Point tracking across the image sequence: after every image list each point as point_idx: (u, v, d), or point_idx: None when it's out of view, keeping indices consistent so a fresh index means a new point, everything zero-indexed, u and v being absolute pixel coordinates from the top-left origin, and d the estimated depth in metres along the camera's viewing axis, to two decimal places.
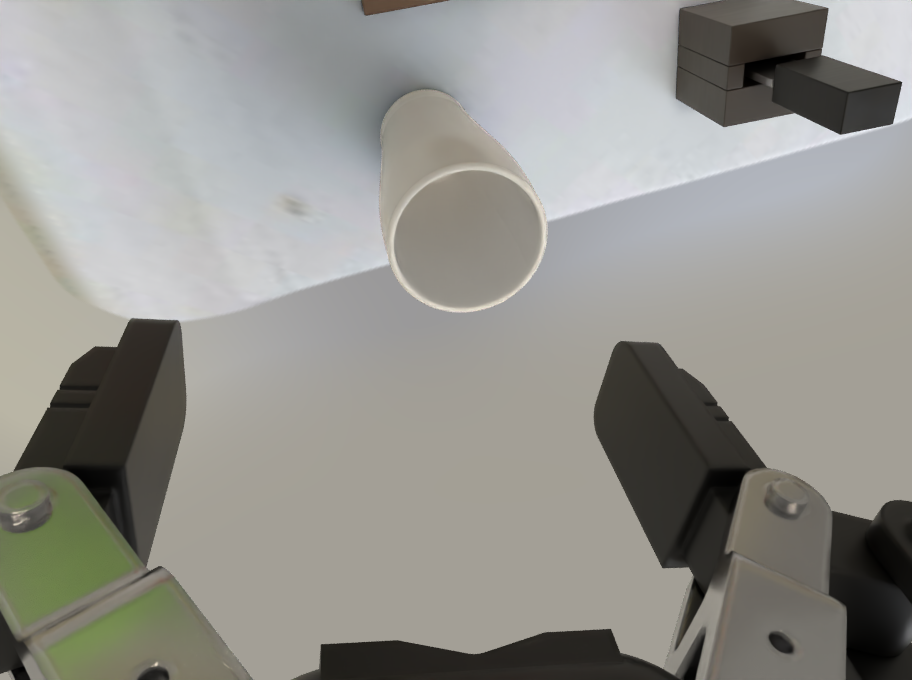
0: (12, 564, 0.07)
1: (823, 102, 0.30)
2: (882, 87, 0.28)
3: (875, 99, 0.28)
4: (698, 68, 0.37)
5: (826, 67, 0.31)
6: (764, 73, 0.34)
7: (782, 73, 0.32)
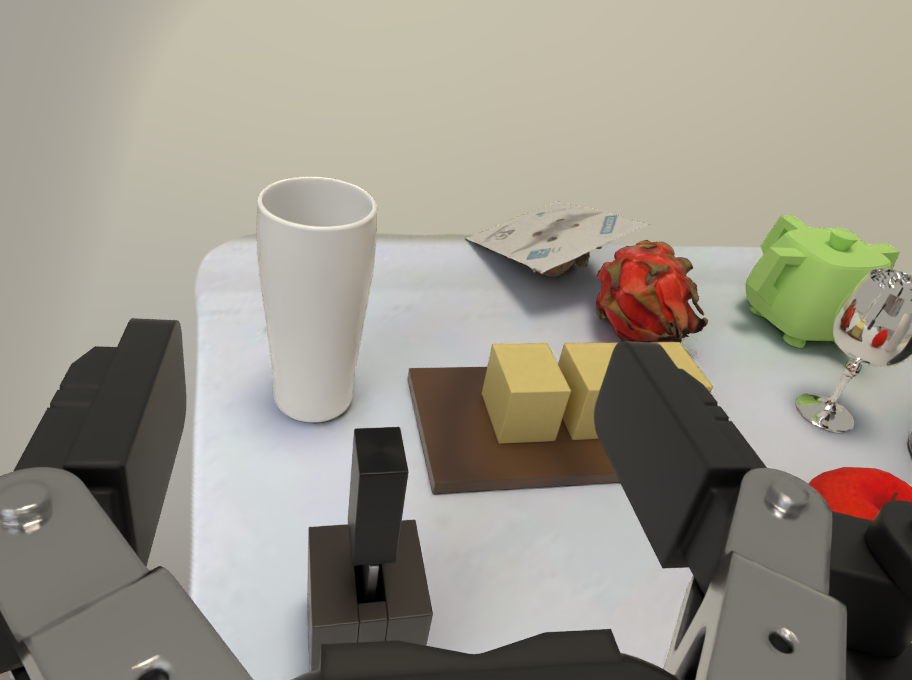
0: (11, 564, 0.07)
1: None
2: (403, 454, 0.25)
3: (390, 451, 0.25)
4: None
5: None
6: None
7: None
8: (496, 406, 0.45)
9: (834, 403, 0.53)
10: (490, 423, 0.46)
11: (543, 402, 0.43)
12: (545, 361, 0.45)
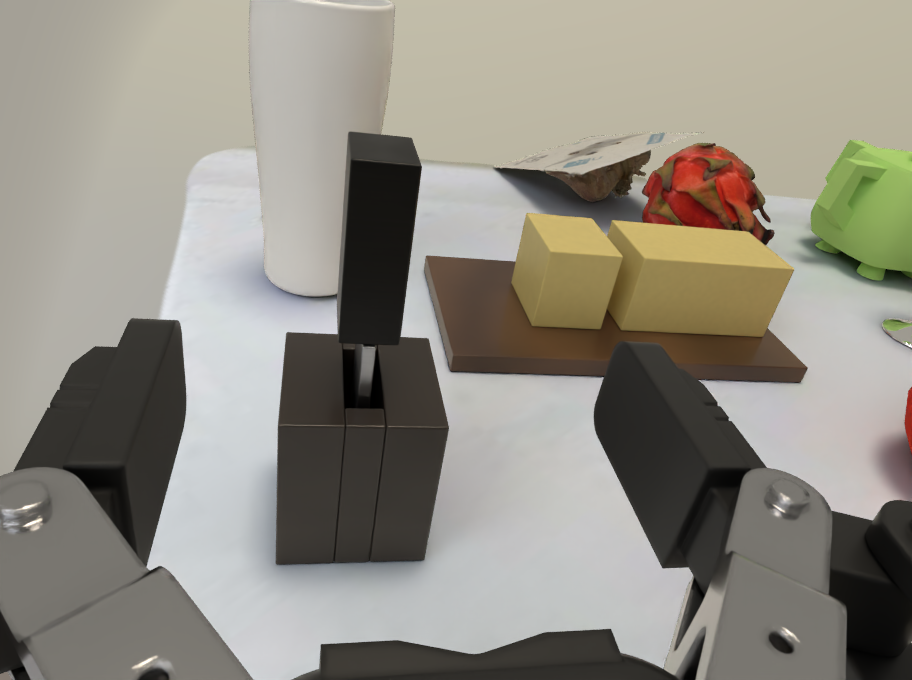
0: (12, 564, 0.07)
1: None
2: (416, 154, 0.18)
3: (397, 149, 0.18)
4: None
5: None
6: None
7: None
8: (530, 283, 0.37)
9: None
10: (521, 308, 0.38)
11: (589, 270, 0.35)
12: (590, 231, 0.37)
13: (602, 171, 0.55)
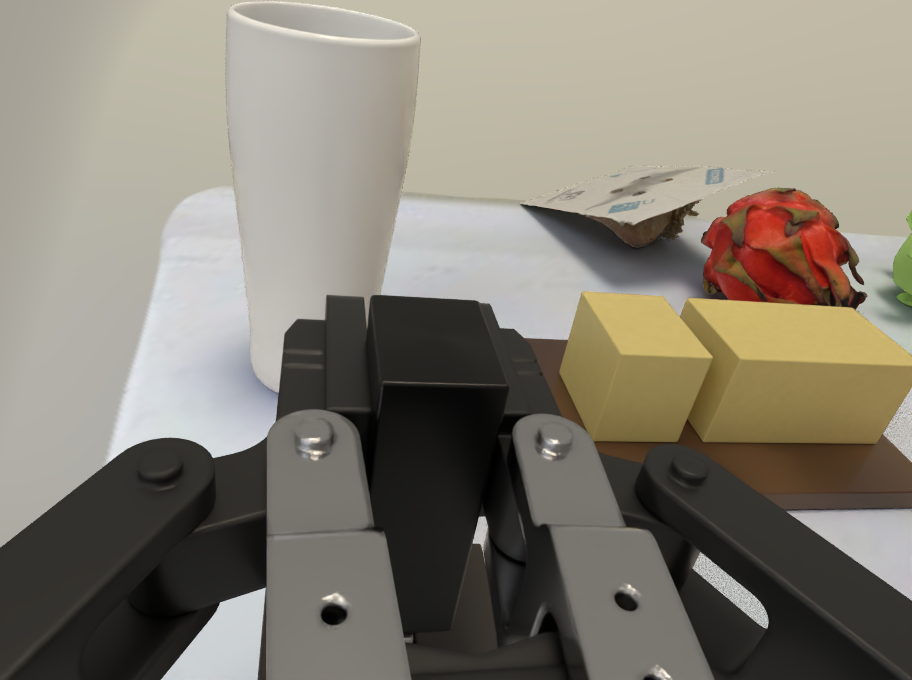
0: (288, 477, 0.08)
1: None
2: (494, 350, 0.10)
3: (461, 341, 0.10)
4: None
5: None
6: None
7: None
8: (588, 384, 0.29)
9: None
10: (576, 412, 0.30)
11: (668, 375, 0.27)
12: (665, 317, 0.29)
13: None
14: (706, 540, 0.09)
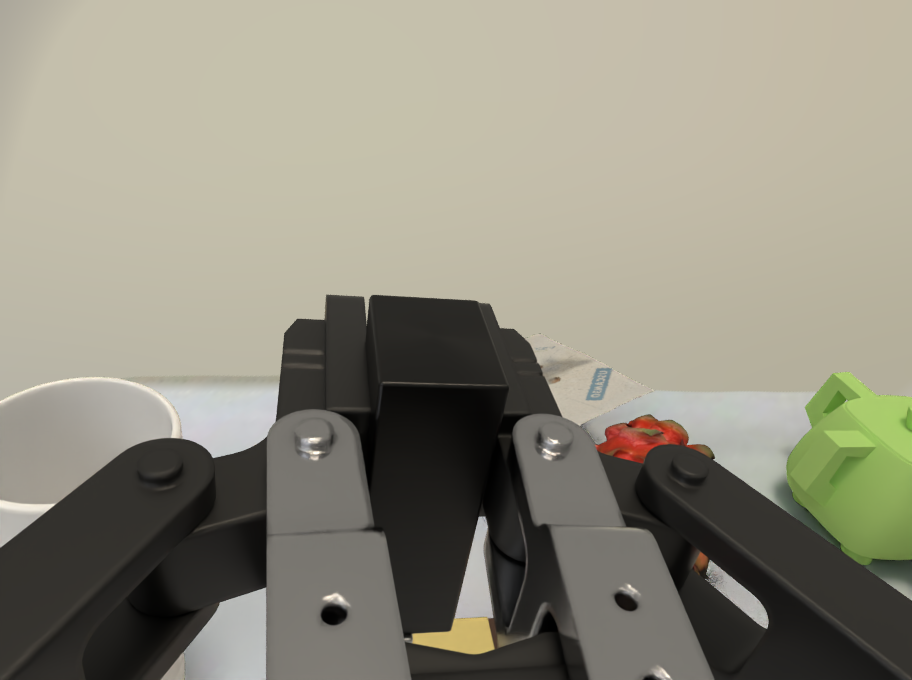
0: (288, 477, 0.08)
1: None
2: (493, 351, 0.10)
3: (460, 341, 0.10)
4: None
5: None
6: None
7: None
8: None
9: None
10: None
11: None
12: None
13: None
14: (706, 541, 0.09)
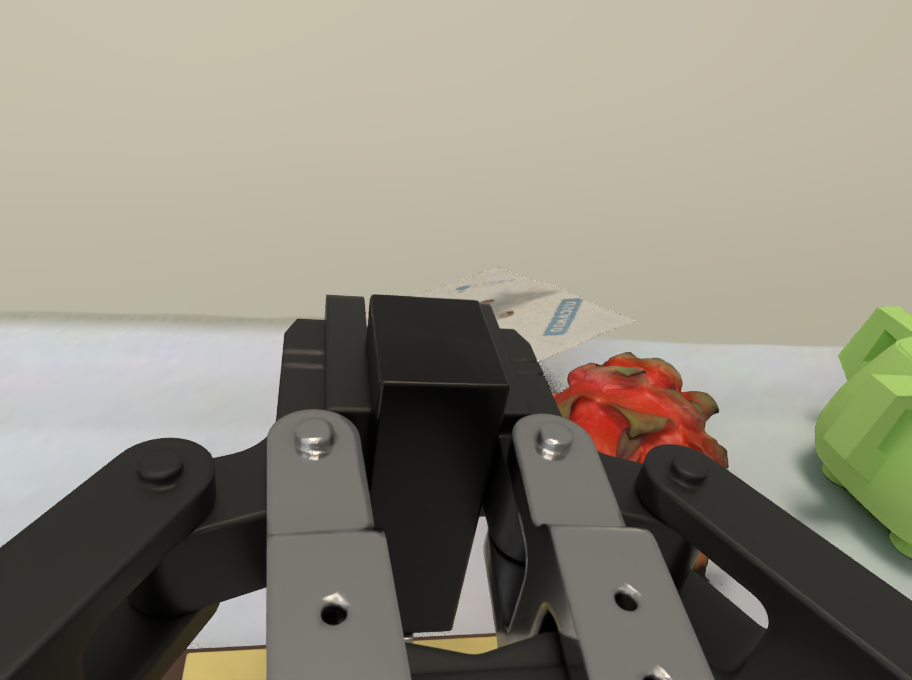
0: (288, 478, 0.08)
1: None
2: (494, 350, 0.10)
3: (461, 340, 0.10)
4: None
5: None
6: None
7: None
8: None
9: None
10: None
11: None
12: None
13: None
14: (706, 540, 0.09)
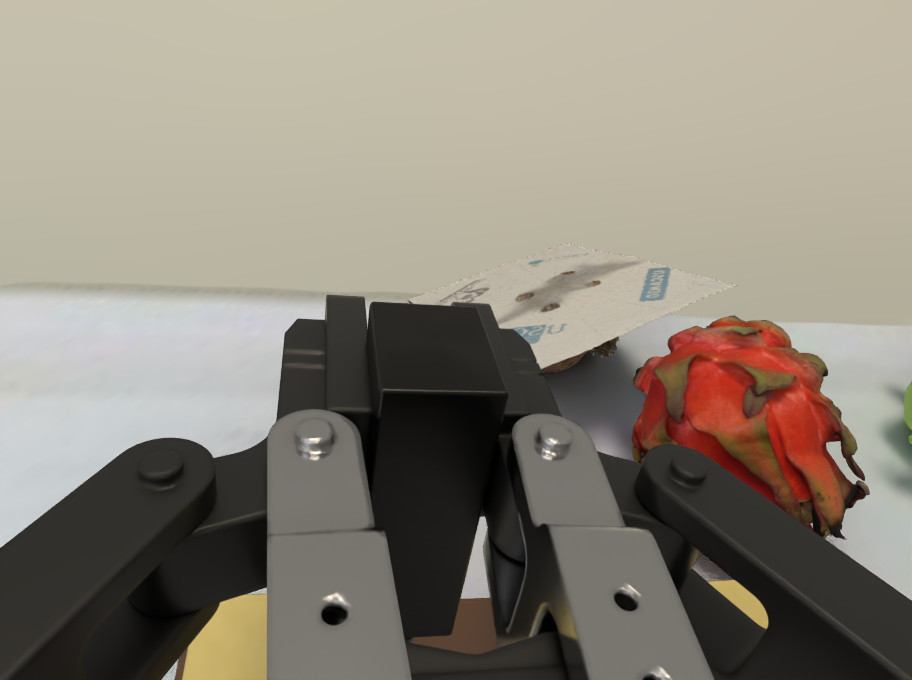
0: (288, 477, 0.08)
1: None
2: (493, 357, 0.10)
3: (460, 347, 0.10)
4: None
5: None
6: None
7: None
8: None
9: None
10: None
11: None
12: None
13: None
14: (705, 540, 0.09)
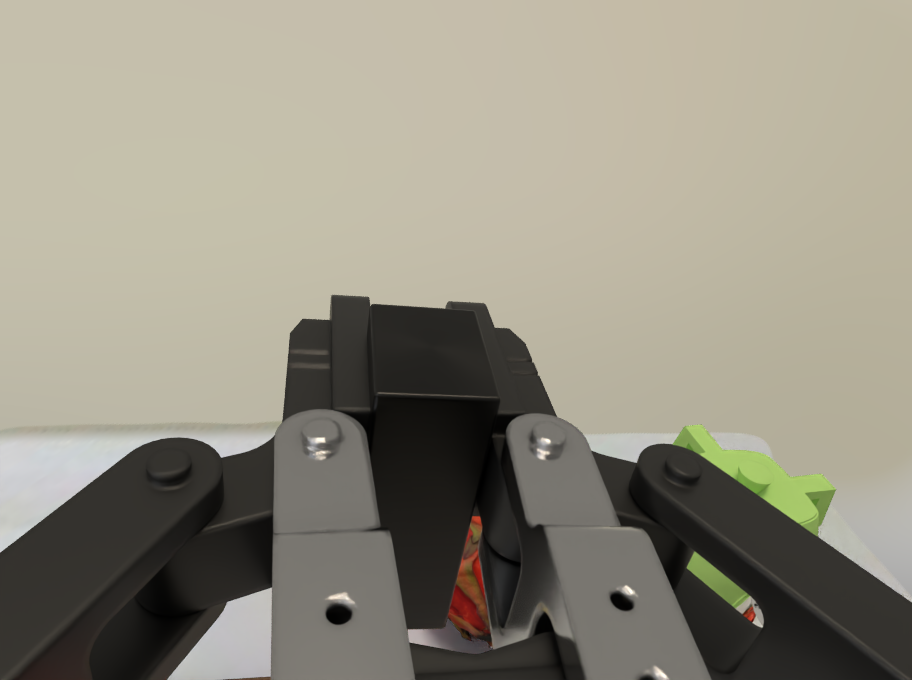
0: (295, 477, 0.08)
1: None
2: (487, 361, 0.10)
3: (455, 352, 0.10)
4: None
5: None
6: None
7: None
8: None
9: None
10: None
11: None
12: None
13: None
14: (700, 540, 0.09)
